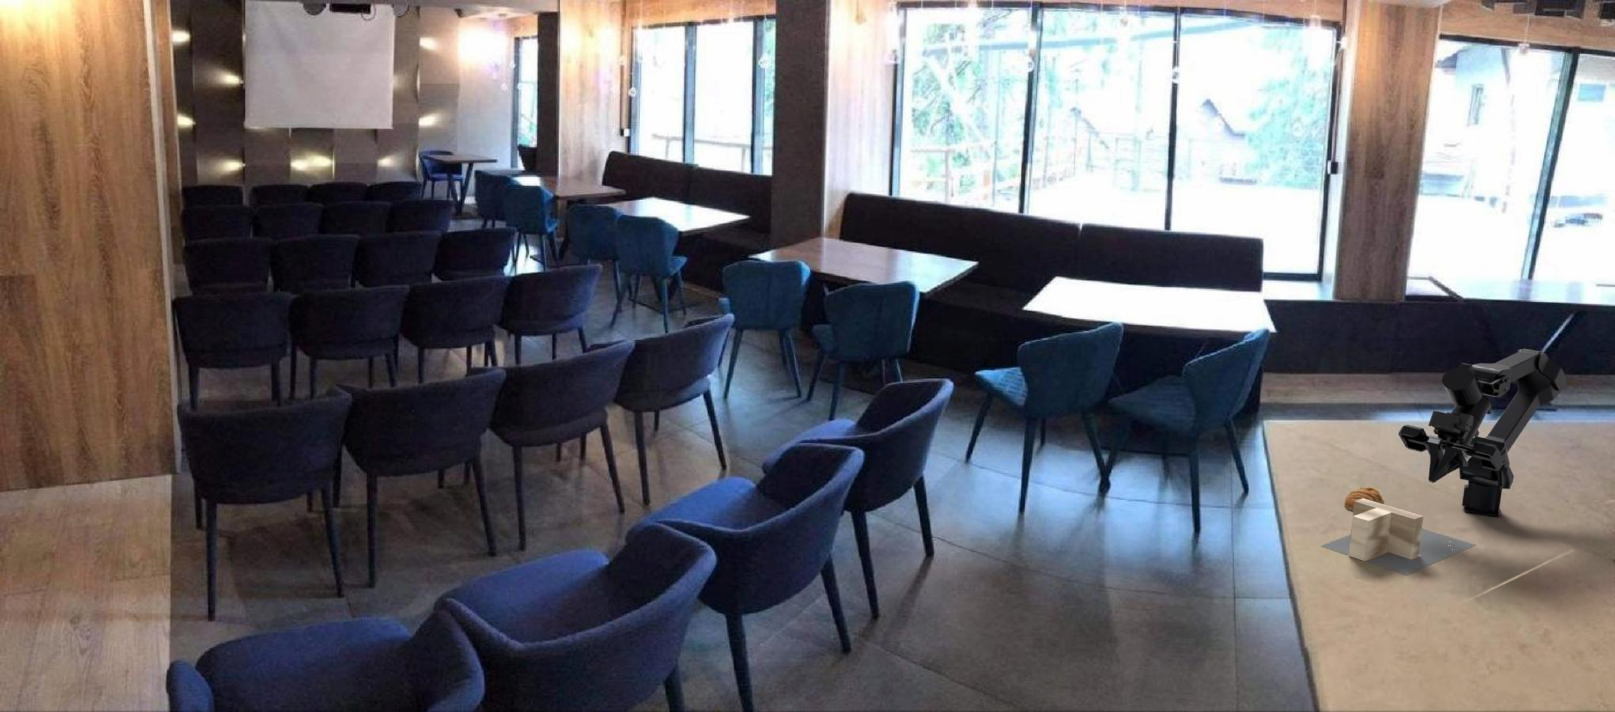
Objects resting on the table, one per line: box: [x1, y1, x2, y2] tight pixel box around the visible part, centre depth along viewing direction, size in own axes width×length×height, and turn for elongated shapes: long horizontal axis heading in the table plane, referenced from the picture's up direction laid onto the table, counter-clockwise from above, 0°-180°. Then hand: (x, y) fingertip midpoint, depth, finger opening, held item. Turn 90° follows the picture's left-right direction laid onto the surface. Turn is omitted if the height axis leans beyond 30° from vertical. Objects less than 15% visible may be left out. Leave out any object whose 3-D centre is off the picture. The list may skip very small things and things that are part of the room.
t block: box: [1348, 498, 1424, 562], centre depth 223 cm, size 11×12×8 cm
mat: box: [1320, 528, 1476, 576], centre depth 227 cm, size 26×17×1 cm, turn 125°
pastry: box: [1344, 486, 1385, 511], centre depth 249 cm, size 9×7×4 cm
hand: (1430, 481), depth 232 cm, fingers closed
